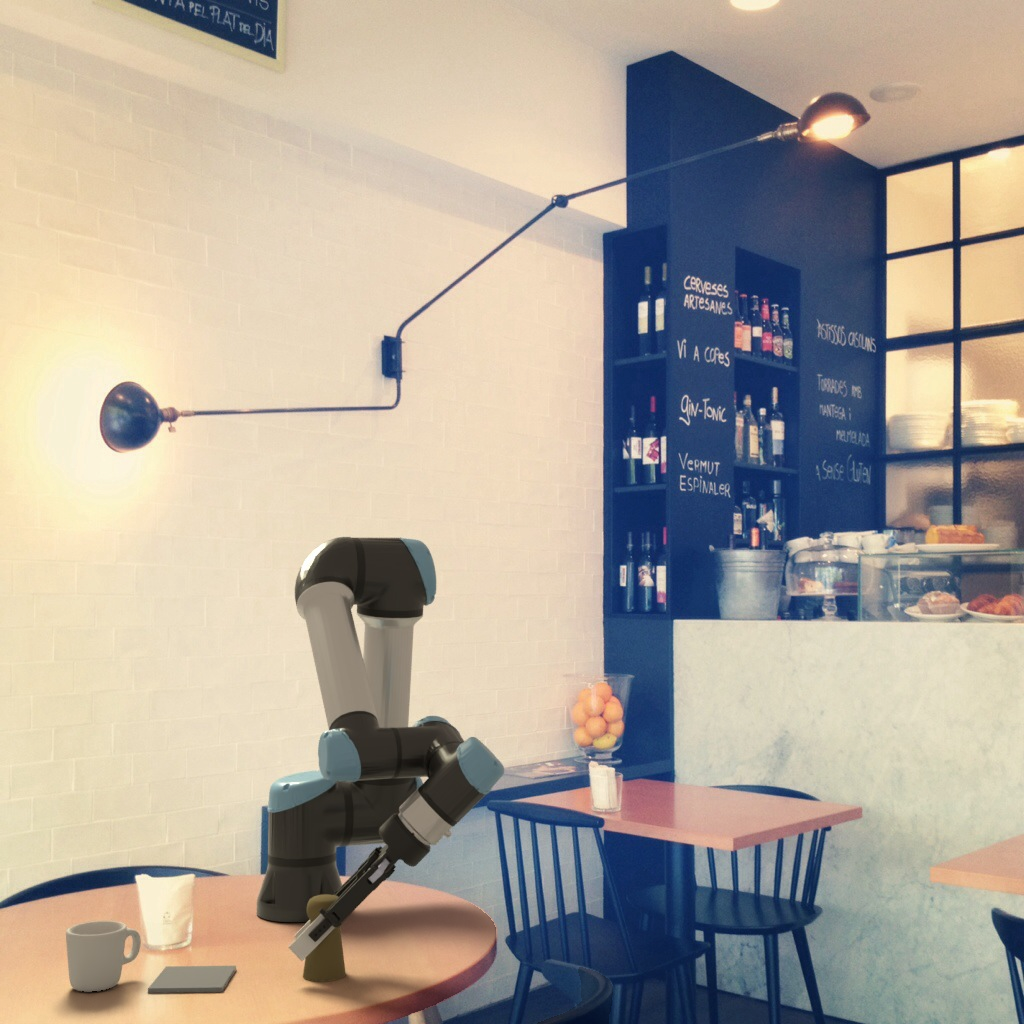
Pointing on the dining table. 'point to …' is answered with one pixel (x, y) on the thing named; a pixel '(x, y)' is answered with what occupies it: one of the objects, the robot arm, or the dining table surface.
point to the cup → (98, 954)
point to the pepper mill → (324, 946)
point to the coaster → (192, 979)
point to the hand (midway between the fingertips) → (298, 947)
